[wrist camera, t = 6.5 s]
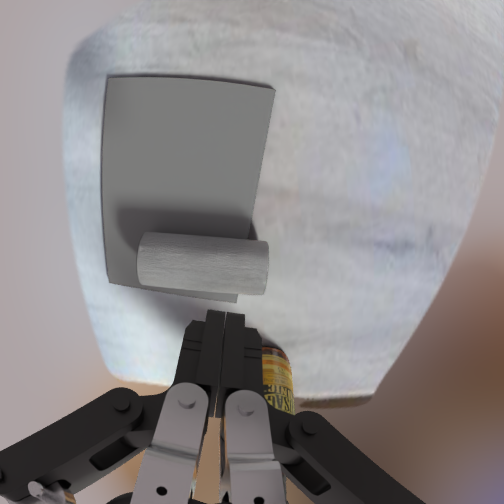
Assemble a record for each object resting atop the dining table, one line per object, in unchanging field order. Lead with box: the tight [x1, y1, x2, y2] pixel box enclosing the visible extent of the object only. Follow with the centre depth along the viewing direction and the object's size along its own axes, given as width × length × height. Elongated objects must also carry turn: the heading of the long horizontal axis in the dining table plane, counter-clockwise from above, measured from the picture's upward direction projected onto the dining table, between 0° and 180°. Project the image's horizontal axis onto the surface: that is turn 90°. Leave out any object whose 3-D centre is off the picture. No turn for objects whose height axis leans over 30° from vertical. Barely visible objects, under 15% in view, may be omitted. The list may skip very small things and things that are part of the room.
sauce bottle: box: [262, 347, 295, 504], centre depth 26 cm, size 7×6×20 cm
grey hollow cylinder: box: [136, 232, 269, 295], centre depth 24 cm, size 4×4×10 cm
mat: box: [102, 77, 276, 303], centre depth 24 cm, size 20×14×1 cm
